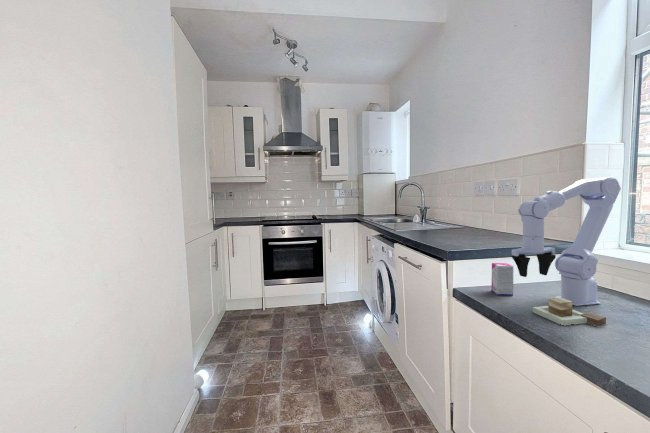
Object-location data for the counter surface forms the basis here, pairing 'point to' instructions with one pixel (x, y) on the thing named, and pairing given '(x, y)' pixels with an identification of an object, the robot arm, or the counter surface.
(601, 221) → the robot arm
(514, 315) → the counter surface
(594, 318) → the walnut brick
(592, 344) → the counter surface
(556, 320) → the base plate
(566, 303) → the tan cube
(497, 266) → the supplement box
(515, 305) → the counter surface
